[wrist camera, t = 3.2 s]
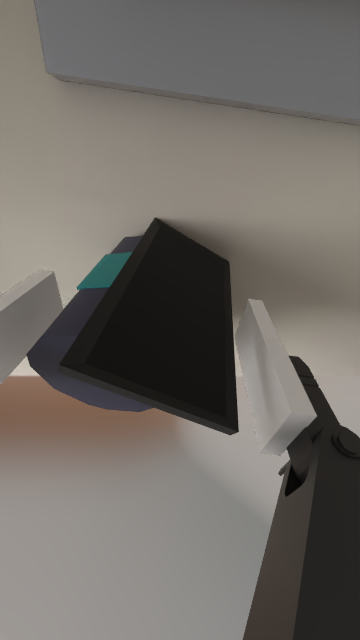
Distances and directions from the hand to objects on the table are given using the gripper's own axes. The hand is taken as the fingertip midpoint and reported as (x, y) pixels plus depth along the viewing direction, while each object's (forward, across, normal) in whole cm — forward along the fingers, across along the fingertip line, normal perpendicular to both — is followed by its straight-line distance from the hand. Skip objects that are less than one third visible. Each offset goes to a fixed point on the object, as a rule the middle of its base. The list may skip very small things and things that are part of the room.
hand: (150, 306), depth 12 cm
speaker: (+4, 0, 0) cm, 4 cm away
